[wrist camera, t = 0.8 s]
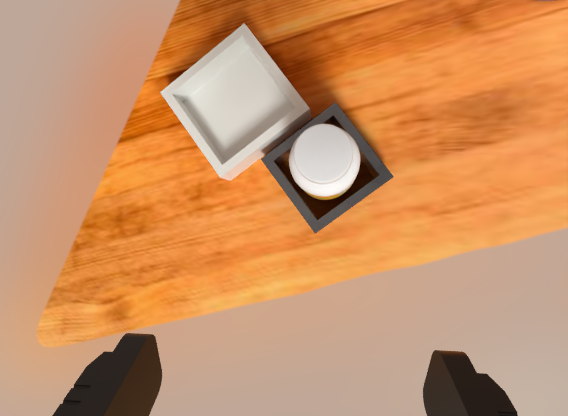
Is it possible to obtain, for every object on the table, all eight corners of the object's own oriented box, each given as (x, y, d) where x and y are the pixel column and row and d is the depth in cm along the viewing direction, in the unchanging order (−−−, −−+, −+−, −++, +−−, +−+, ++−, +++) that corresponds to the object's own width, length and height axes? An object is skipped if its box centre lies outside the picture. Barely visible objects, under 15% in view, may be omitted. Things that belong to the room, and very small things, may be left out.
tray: (252, 40, 34) (244, 22, 31) (312, 118, 32) (309, 108, 29) (175, 103, 35) (160, 92, 32) (230, 180, 33) (220, 177, 31)
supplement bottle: (286, 177, 33) (266, 160, 23) (321, 132, 32) (316, 96, 23) (330, 212, 32) (328, 209, 22) (367, 167, 32) (381, 145, 22)
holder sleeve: (335, 112, 32) (335, 102, 29) (388, 180, 31) (393, 176, 28) (267, 164, 33) (261, 159, 30) (316, 232, 32) (315, 233, 29)
